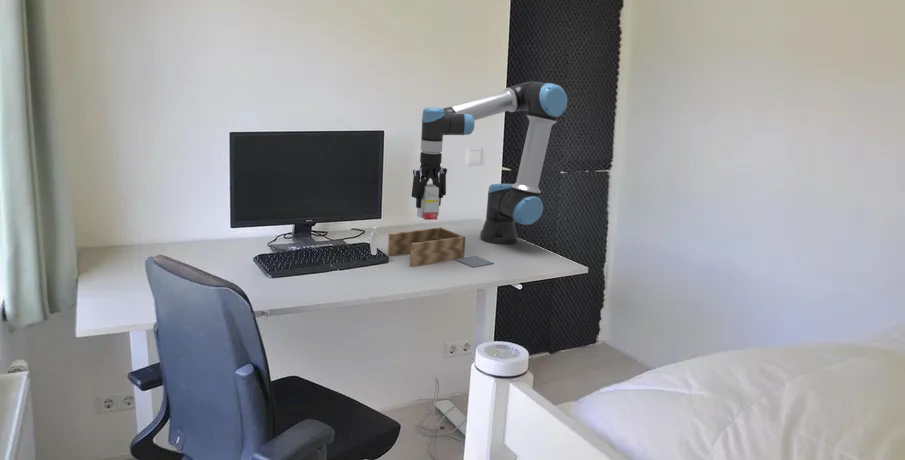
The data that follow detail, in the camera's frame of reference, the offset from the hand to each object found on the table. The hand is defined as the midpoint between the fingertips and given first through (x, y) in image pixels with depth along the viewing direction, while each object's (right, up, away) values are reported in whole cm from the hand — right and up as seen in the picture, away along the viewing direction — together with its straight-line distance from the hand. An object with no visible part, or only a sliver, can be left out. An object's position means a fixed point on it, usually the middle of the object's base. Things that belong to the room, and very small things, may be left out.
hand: (427, 215), depth 256 cm
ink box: (0, -1, 0) cm, 1 cm away
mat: (+17, -17, +2) cm, 24 cm away
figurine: (-20, -15, -2) cm, 25 cm away
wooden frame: (-1, -15, +4) cm, 15 cm away
